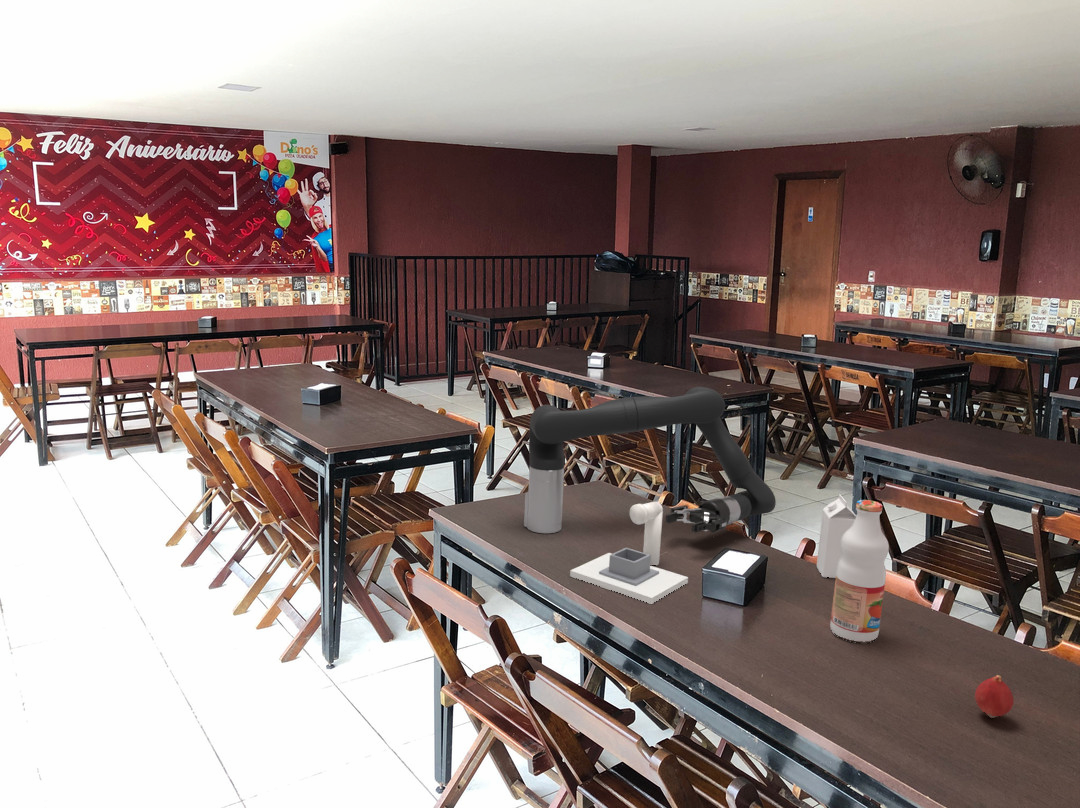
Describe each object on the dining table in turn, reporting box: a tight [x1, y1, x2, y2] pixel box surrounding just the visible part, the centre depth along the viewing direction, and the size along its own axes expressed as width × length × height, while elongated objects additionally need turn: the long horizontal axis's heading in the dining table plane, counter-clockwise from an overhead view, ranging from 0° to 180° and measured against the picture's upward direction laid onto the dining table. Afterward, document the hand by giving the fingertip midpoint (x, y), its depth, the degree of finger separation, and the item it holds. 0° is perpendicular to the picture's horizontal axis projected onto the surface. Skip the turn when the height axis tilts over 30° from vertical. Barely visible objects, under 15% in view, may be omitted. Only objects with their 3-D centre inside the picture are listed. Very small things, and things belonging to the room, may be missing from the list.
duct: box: [569, 547, 689, 605], centre depth 201 cm, size 22×16×6 cm
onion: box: [974, 674, 1015, 717], centre depth 148 cm, size 6×6×8 cm
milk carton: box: [816, 493, 857, 579], centre depth 209 cm, size 7×7×19 cm
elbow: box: [629, 501, 664, 566], centre depth 210 cm, size 8×5×16 cm, turn 132°
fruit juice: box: [829, 499, 890, 642], centre depth 176 cm, size 9×9×28 cm
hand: (679, 523), depth 218 cm, fingers open, 8 cm apart
